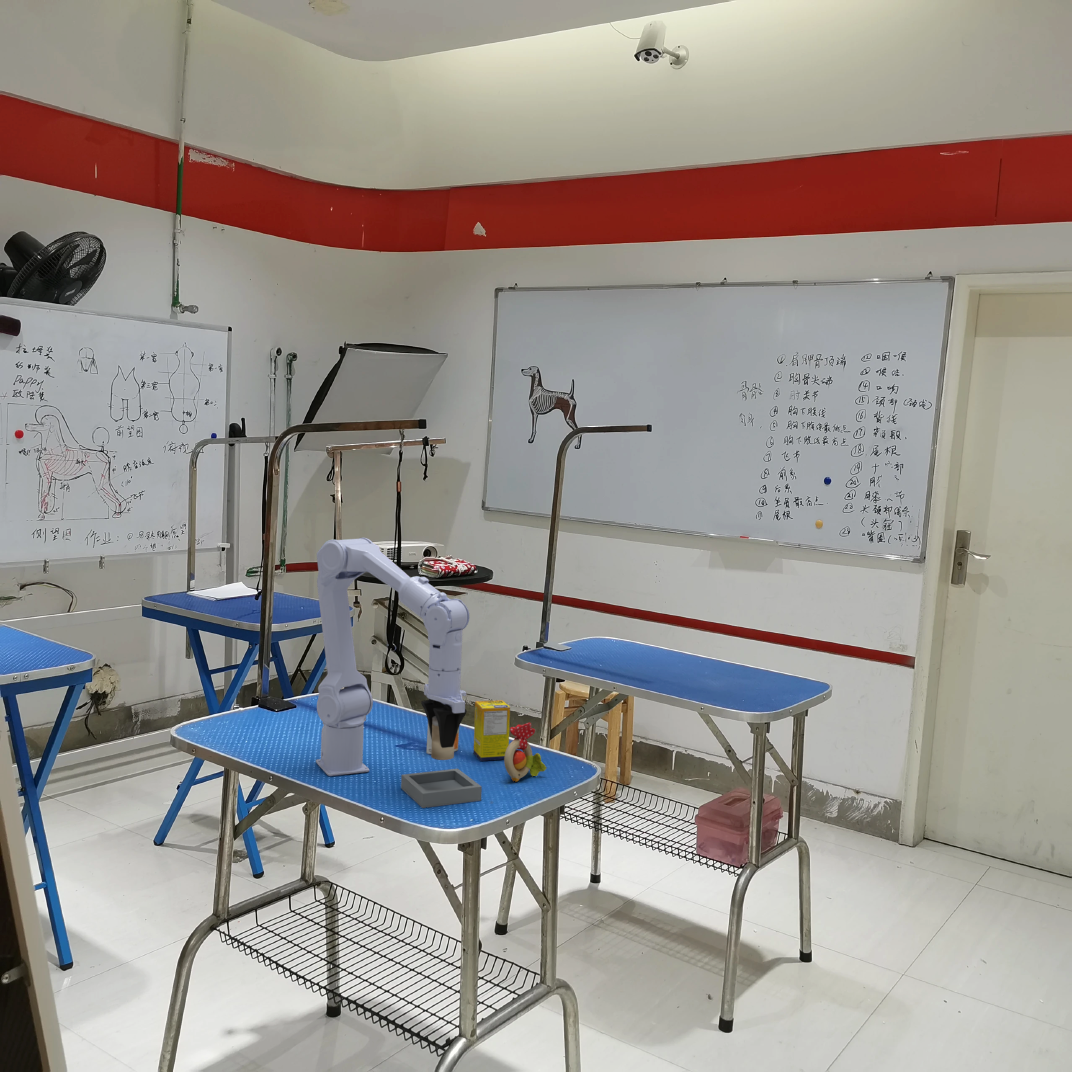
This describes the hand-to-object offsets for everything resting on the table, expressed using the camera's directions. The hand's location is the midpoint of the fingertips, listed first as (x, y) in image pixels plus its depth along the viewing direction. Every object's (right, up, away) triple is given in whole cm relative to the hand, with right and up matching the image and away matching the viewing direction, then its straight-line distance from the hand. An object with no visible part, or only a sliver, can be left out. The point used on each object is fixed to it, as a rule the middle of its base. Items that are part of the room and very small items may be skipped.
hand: (442, 743), depth 179 cm
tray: (0, -9, +1) cm, 9 cm away
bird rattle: (+14, -9, +12) cm, 21 cm away
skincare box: (-2, -8, +27) cm, 28 cm away
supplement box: (+7, -8, +25) cm, 27 cm away
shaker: (0, -2, 0) cm, 2 cm away
